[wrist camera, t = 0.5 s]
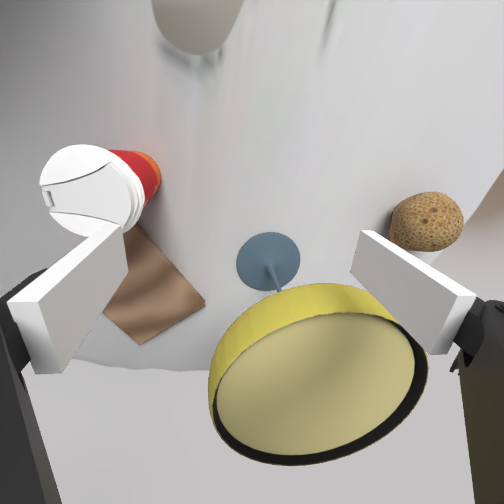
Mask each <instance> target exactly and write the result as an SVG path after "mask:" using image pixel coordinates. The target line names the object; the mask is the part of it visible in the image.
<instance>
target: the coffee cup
mask: <svg viewBox="0 0 504 504" xmlns="http://www.w3.org/2000/svg"><path fill="white" fill-rule="evenodd" d="M160 183H161V173H160V169H159V167H158V165H157V164H156V162H155V161H154V160H153V159H152V158H151V157H149V156H148V155H146V154H143V153H140V152H135V151H121V150H105V149H103V148H100V147H97V146H92V145H72V146H69V147H65V148H63V149H61V150H59V151H58V152H56V153H55V154H54V155H53V156H52V157H51V158H50V159H49V160H48V162H47V164H46V166H45V167H44V169H43V171H42V173H41V176H40V183H39V185H42V186H41V187H42V192H41V193H42V196H43V198H44V201H45V204H46V206H47V207H49V210H50V211H51V212H50V213H49V214H50V215H51V216H52V217H53V218H54V219H55V220H56V221H57V222H58V223H59V224H60V225H62V226H63V227H64V228H66V229H68V230H69V231H71V232H74V233H76V234H78V235H82V236H85V237H90V236H91V235H92V234H93V233H95V232H96V231H97V230H98V229H100V228H101V227H102V226H104V225H105V224H117V225H121V227H122V233H125V232H127V231H128V230H130V229H131V228H132V227H133V226H134V225H135V224H136V222H137V221H138V219H139V217H140V215H141V212H142V209H143V208H144V206H145V205H146V204H147V203H148V201H149V200H150V199H151V198H152V196H153V195H154V194H155V192H156V191H157V189H158V188H159V186H160Z"/></svg>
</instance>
